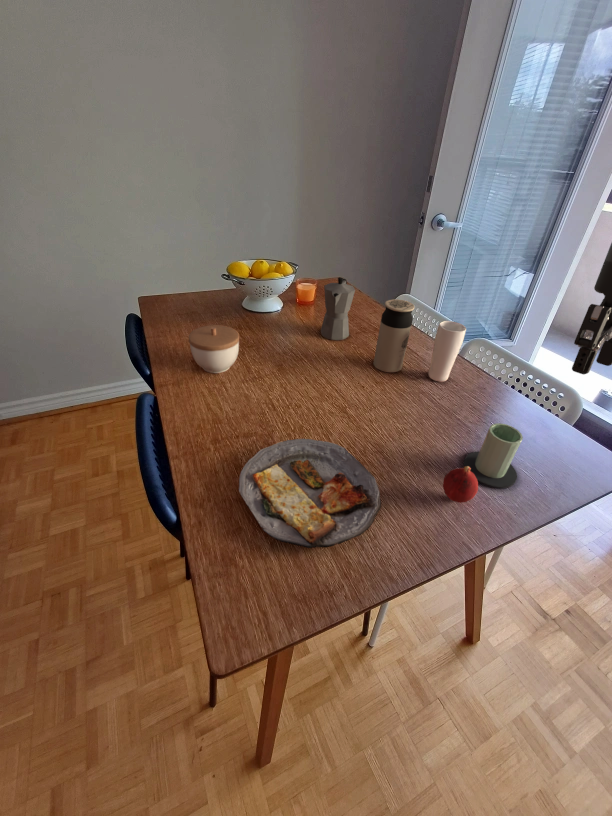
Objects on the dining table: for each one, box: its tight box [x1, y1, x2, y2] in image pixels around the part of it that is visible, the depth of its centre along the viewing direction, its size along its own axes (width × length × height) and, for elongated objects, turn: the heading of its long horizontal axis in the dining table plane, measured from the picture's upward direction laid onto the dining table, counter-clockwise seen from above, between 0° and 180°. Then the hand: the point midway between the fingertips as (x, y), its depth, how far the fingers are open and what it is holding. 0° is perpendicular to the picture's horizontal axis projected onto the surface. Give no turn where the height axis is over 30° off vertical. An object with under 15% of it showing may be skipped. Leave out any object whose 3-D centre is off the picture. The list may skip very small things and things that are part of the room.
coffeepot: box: [320, 276, 356, 341], centre depth 122 cm, size 15×9×18 cm, turn 164°
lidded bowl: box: [188, 324, 240, 374], centre depth 103 cm, size 13×13×11 cm
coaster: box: [463, 450, 518, 490], centre depth 79 cm, size 10×10×1 cm
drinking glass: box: [427, 320, 467, 383], centre depth 104 cm, size 7×7×15 cm
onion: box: [442, 466, 479, 503], centre depth 70 cm, size 6×6×8 cm
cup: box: [475, 422, 524, 478], centre depth 77 cm, size 6×6×9 cm
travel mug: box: [373, 298, 416, 373], centre depth 106 cm, size 8×8×18 cm
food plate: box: [238, 438, 382, 549], centre depth 71 cm, size 25×23×4 cm
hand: (591, 368), depth 63 cm, fingers open, 8 cm apart
